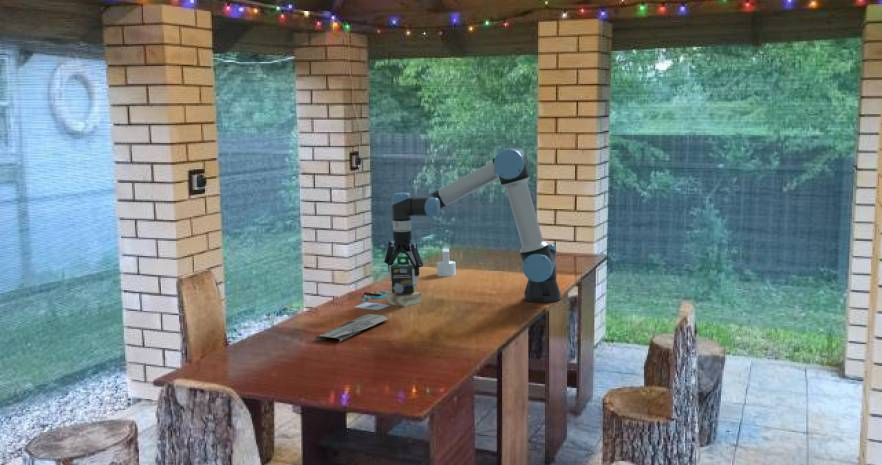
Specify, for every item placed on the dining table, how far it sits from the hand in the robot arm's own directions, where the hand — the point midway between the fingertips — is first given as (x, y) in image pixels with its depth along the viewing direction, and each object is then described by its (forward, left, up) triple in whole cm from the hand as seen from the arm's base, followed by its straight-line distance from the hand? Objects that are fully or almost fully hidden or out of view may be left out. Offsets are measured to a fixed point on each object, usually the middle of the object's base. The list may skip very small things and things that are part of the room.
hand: (403, 282), depth 350 cm
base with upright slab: (+24, -56, -9) cm, 62 cm away
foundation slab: (0, 0, -9) cm, 9 cm away
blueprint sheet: (+7, +12, -9) cm, 17 cm away
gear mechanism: (+20, -2, -10) cm, 22 cm away
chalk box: (0, 0, -4) cm, 4 cm away
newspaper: (-14, +43, -10) cm, 46 cm away
